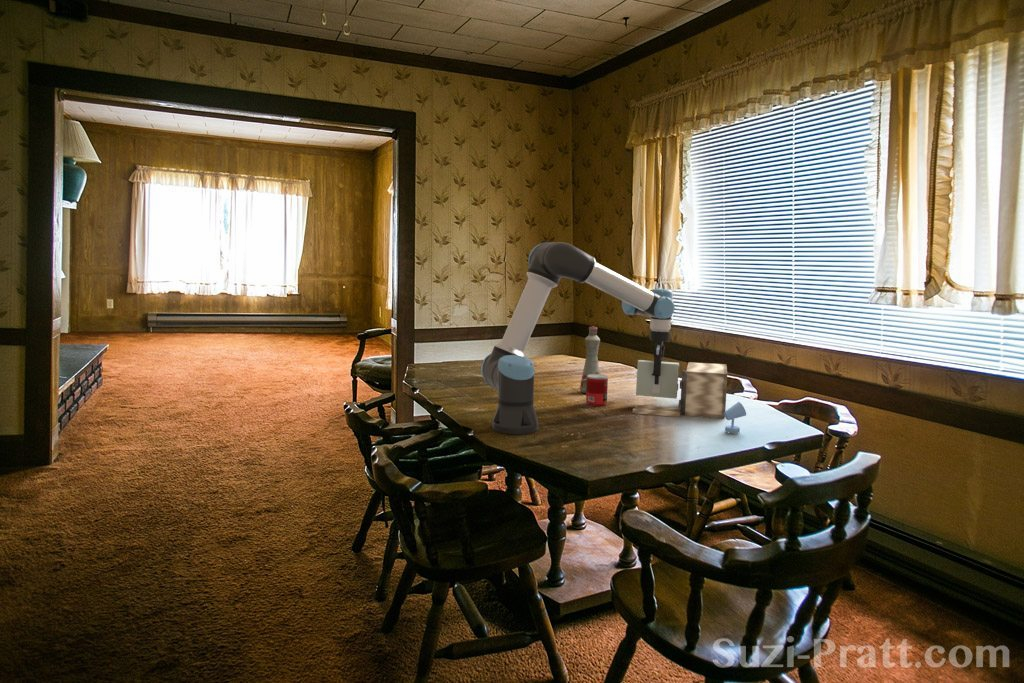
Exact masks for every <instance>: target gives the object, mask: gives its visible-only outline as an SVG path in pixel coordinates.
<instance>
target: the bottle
mask: <svg viewBox="0 0 1024 683" xmlns="http://www.w3.org/2000/svg"><path fill="white" fill-rule="evenodd" d="M597 334H598V327H597V326H594V325H592V326H589V327H588V336H586V337H585V338H584V342H585V351H586V356H585V361H584V365H583V372H582V376H581V380H580V384H579V385H580V386H579V391H580V393H583V394H585V395H586V386H587V375H590V374H600V367H599V360H598V353H599V349H600V348H599V346H600V343H601V339H600V337H599V336H598V335H597Z"/></svg>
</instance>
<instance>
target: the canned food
mask: <svg viewBox="0 0 1024 683" xmlns="http://www.w3.org/2000/svg"><path fill="white" fill-rule="evenodd" d="M608 382H609V381H608V375H605V374H590V375H587V386H586V394H585V396H586V397H585V399H586V400H585V403H586V405H588V406H591V405H592V406H591V407H604V406H606V405H607V403H608V386H609V385H608Z"/></svg>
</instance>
